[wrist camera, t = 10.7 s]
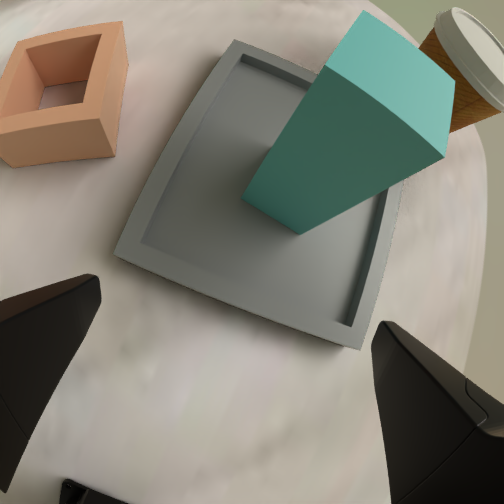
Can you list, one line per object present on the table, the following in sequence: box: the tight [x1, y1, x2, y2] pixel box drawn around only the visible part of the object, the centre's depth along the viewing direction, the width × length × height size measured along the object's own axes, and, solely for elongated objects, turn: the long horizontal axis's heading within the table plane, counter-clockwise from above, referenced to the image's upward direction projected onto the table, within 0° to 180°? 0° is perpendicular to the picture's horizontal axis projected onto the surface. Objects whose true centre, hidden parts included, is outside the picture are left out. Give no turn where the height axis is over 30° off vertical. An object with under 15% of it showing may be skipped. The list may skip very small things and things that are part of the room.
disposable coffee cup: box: [418, 7, 504, 133], centre depth 19 cm, size 10×10×12 cm
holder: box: [0, 21, 129, 168], centre depth 16 cm, size 8×8×5 cm
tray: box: [113, 39, 404, 350], centre depth 20 cm, size 18×16×2 cm
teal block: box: [241, 10, 455, 235], centre depth 14 cm, size 4×4×12 cm
